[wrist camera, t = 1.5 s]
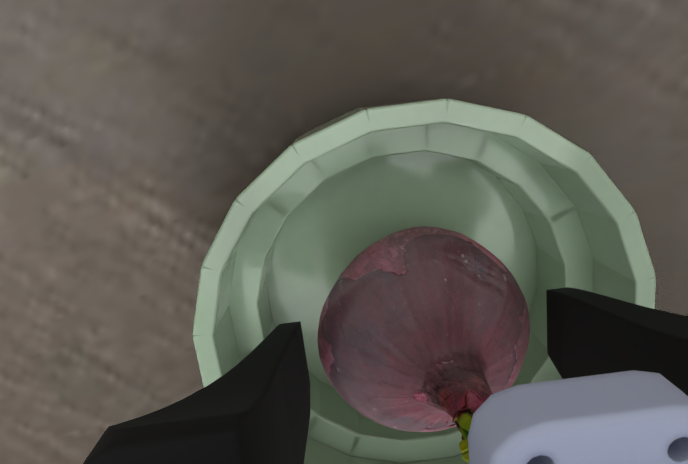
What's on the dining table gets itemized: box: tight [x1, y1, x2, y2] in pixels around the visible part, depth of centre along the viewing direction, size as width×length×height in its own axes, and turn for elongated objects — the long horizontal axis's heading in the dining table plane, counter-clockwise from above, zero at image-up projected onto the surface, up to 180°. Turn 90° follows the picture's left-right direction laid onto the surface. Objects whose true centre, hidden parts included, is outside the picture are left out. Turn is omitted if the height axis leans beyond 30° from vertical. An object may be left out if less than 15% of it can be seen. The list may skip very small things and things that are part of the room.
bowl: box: [192, 99, 656, 464], centre depth 16 cm, size 13×13×5 cm
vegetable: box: [317, 226, 530, 463], centre depth 13 cm, size 6×6×10 cm
